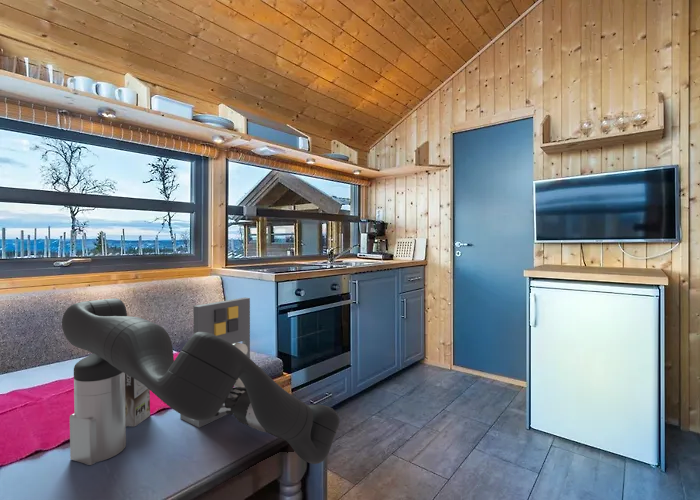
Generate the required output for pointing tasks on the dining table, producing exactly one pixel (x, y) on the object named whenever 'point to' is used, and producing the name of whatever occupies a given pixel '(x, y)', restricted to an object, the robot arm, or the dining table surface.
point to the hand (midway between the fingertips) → (213, 391)
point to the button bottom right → (239, 383)
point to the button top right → (241, 347)
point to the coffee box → (136, 401)
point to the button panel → (223, 330)
